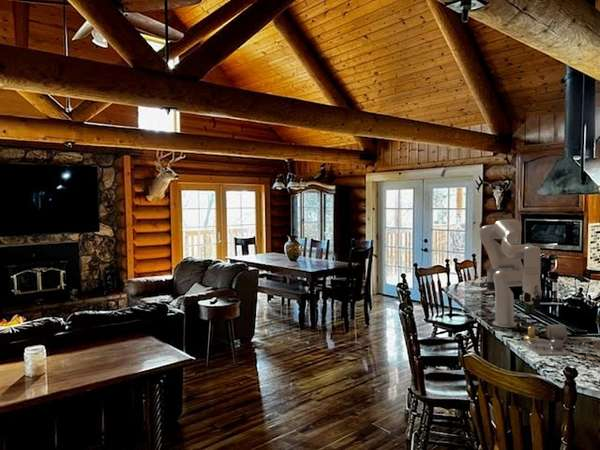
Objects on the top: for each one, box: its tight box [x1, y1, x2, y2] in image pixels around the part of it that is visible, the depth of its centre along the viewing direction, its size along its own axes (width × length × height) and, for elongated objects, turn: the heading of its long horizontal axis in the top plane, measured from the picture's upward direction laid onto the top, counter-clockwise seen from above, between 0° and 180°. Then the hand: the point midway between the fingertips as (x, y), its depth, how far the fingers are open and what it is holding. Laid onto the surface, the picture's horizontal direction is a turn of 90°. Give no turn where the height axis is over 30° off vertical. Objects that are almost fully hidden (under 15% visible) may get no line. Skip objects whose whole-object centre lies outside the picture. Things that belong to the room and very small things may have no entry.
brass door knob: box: [523, 325, 540, 341], centre depth 226 cm, size 7×7×7 cm
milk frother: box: [479, 269, 498, 291], centre depth 360 cm, size 14×16×15 cm
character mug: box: [519, 291, 536, 314], centre depth 278 cm, size 11×7×13 cm, turn 73°
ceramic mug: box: [545, 323, 568, 343], centre depth 224 cm, size 11×8×8 cm
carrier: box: [520, 338, 570, 356], centre depth 212 cm, size 17×14×5 cm
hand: (531, 304), depth 225 cm, fingers open, 9 cm apart
